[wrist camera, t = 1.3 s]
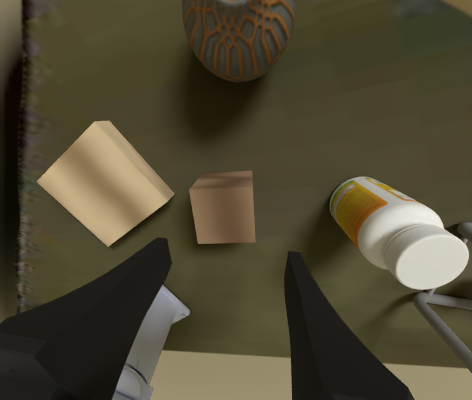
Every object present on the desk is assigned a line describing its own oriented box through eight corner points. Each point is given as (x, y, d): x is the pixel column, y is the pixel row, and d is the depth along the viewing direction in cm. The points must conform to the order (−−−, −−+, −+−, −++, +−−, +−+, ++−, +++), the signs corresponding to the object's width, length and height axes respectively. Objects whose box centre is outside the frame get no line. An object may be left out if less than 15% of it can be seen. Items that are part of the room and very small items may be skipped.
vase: (276, 91, 18) (298, 73, 10) (196, 82, 18) (154, 59, 10) (293, -14, 16) (339, -150, 8) (199, -23, 16) (146, -167, 8)
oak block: (120, 234, 25) (108, 246, 23) (58, 174, 23) (36, 181, 21) (176, 192, 23) (167, 201, 21) (112, 120, 20) (94, 121, 18)
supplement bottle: (330, 229, 23) (382, 304, 14) (326, 181, 21) (383, 233, 12) (384, 220, 22) (476, 293, 13) (384, 170, 20) (493, 216, 11)
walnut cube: (208, 217, 23) (197, 243, 19) (202, 173, 22) (189, 189, 17) (254, 216, 23) (255, 242, 18) (252, 170, 21) (252, 186, 16)
